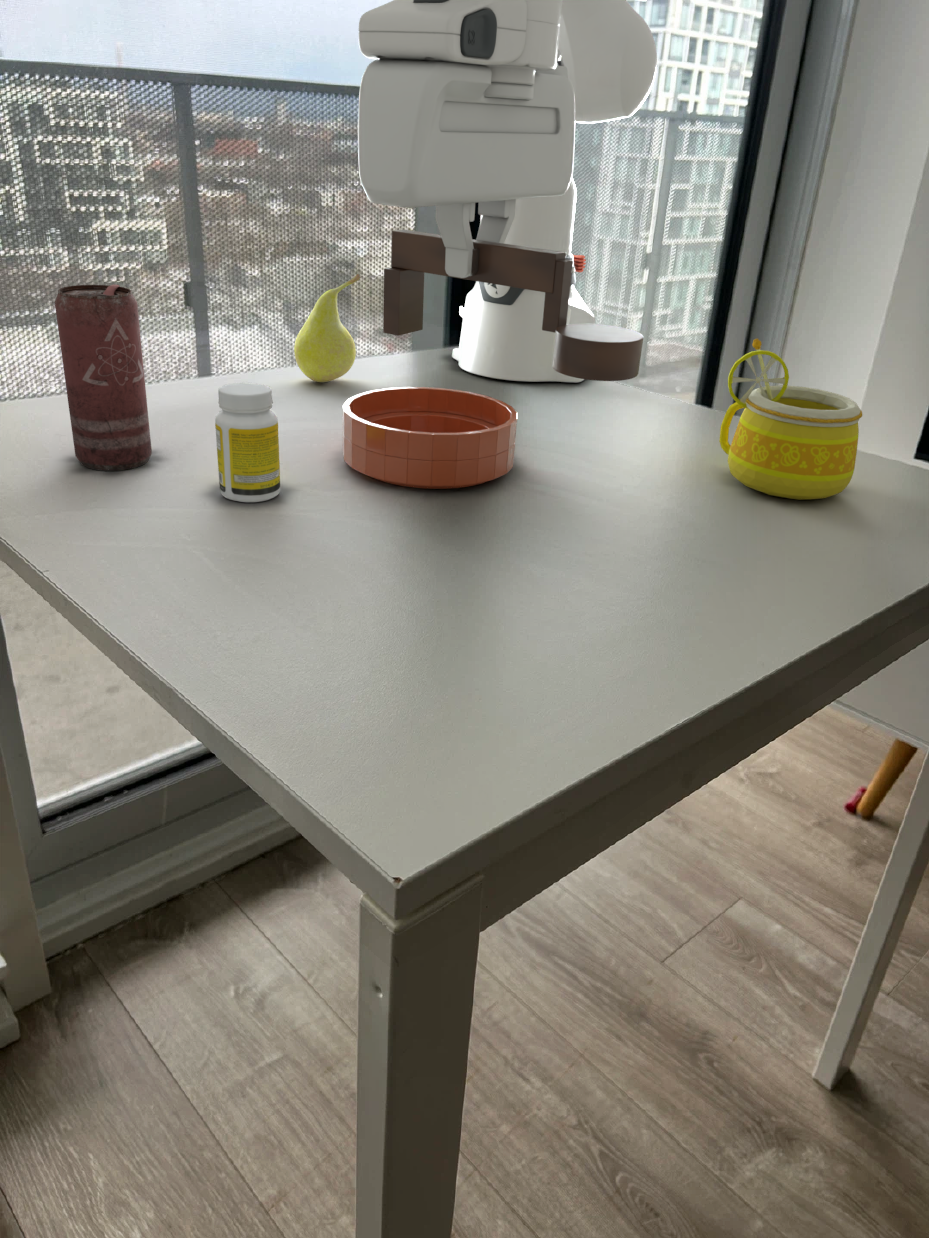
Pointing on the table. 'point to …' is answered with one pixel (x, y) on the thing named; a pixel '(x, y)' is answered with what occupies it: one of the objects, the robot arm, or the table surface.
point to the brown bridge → (529, 268)
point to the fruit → (325, 340)
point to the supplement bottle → (247, 443)
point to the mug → (790, 436)
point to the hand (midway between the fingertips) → (472, 274)
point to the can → (104, 375)
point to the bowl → (428, 436)
